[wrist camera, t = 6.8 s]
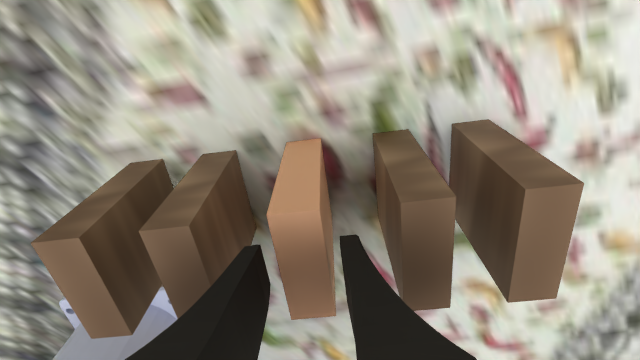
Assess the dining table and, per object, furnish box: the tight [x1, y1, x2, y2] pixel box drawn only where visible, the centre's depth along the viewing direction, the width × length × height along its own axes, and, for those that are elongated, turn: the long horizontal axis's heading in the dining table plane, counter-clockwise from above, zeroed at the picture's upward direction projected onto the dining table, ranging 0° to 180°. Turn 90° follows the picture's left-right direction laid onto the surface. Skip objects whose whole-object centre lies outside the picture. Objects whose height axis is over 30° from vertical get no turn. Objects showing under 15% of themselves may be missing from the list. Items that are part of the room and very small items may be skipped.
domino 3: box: [266, 138, 336, 320], centre depth 16 cm, size 2×5×7 cm, turn 7°
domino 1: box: [31, 159, 174, 339], centre depth 16 cm, size 2×5×7 cm, turn 7°
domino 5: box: [449, 120, 584, 302], centre depth 15 cm, size 2×5×7 cm, turn 7°
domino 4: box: [373, 129, 456, 311], centre depth 15 cm, size 2×5×7 cm, turn 8°
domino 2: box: [139, 150, 256, 318], centre depth 16 cm, size 2×5×7 cm, turn 7°
